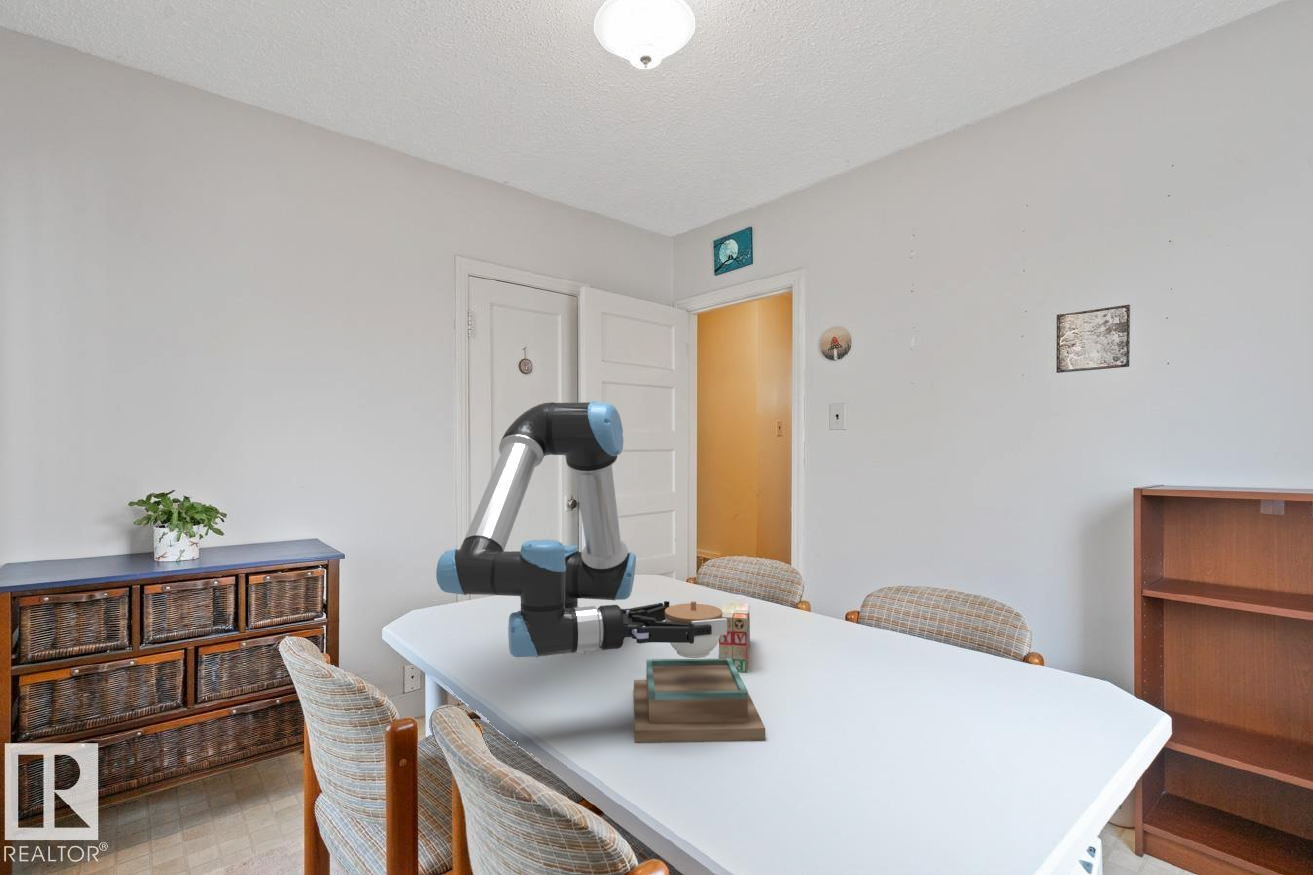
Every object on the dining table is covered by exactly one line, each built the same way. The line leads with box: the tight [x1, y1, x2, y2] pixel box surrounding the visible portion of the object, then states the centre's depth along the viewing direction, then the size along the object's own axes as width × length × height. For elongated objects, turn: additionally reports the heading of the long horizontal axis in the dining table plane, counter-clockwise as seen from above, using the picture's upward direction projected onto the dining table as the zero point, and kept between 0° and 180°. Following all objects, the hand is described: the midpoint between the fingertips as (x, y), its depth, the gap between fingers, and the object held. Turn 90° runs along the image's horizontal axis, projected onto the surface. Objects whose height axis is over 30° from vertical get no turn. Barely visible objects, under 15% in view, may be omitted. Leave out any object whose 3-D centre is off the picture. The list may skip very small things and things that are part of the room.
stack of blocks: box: [718, 601, 751, 674], centre depth 145 cm, size 21×6×12 cm, turn 170°
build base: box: [633, 658, 766, 744], centre depth 114 cm, size 22×22×7 cm
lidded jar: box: [664, 600, 722, 659], centre depth 114 cm, size 11×11×9 cm
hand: (713, 617), depth 115 cm, fingers closed on lidded jar, 11 cm apart
